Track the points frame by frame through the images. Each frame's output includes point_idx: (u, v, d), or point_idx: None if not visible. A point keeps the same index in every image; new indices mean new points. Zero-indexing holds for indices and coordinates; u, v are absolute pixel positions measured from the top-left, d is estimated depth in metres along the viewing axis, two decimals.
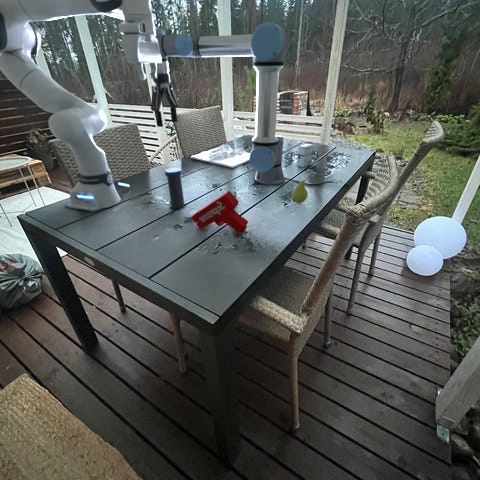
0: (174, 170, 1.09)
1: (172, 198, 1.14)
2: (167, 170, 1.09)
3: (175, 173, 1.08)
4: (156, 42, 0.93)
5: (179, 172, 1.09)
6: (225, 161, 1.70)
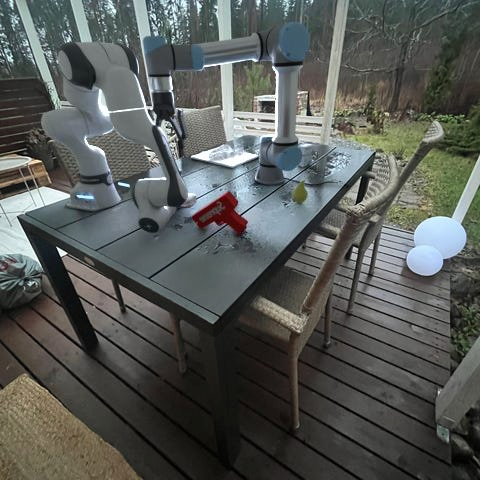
0: None
1: None
2: None
3: None
4: None
5: None
6: (225, 161, 1.70)
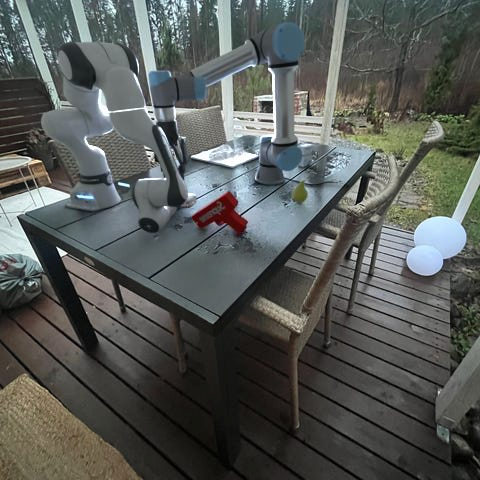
0: None
1: None
2: None
3: None
4: None
5: None
6: (225, 161, 1.70)
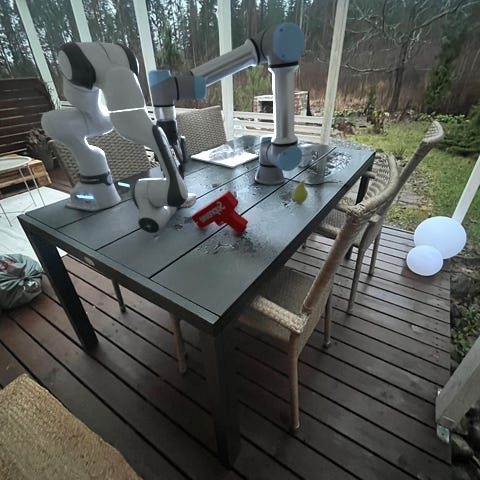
0: None
1: None
2: None
3: None
4: None
5: None
6: (225, 161, 1.70)
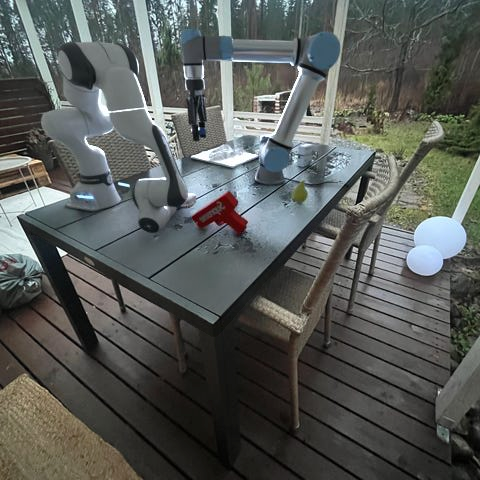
0: None
1: None
2: (203, 128, 1.18)
3: None
4: None
5: None
6: (225, 161, 1.70)
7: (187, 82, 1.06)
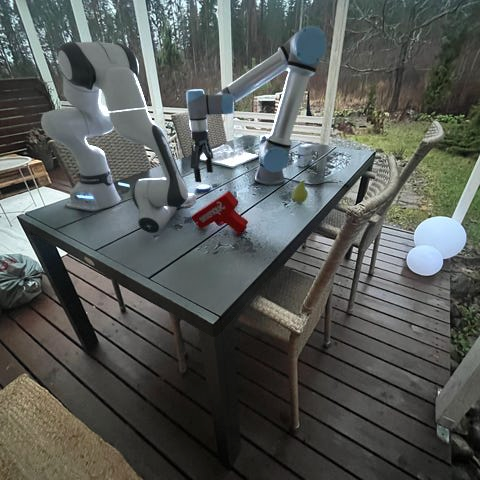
0: (202, 186, 1.33)
1: None
2: (207, 186, 1.33)
3: None
4: None
5: None
6: (225, 161, 1.70)
7: (192, 134, 1.17)
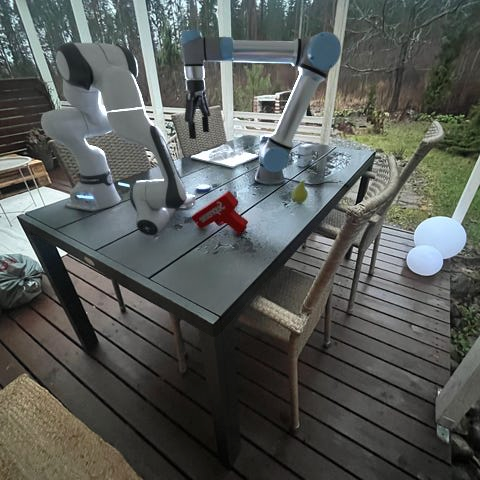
0: (202, 186, 1.33)
1: None
2: (207, 186, 1.33)
3: None
4: None
5: None
6: (225, 161, 1.70)
7: (188, 83, 1.06)
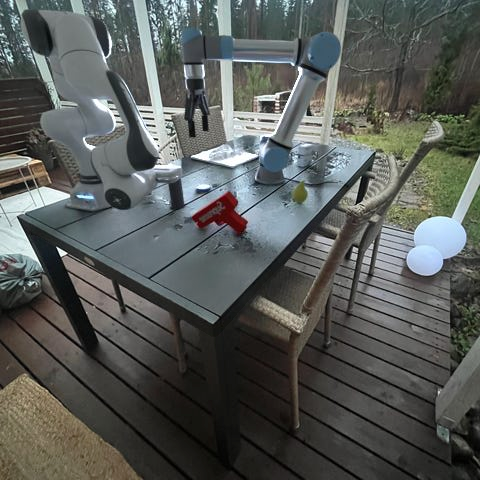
0: (202, 186, 1.33)
1: (172, 198, 1.14)
2: (207, 186, 1.33)
3: None
4: None
5: None
6: (225, 161, 1.70)
7: (187, 81, 1.06)
